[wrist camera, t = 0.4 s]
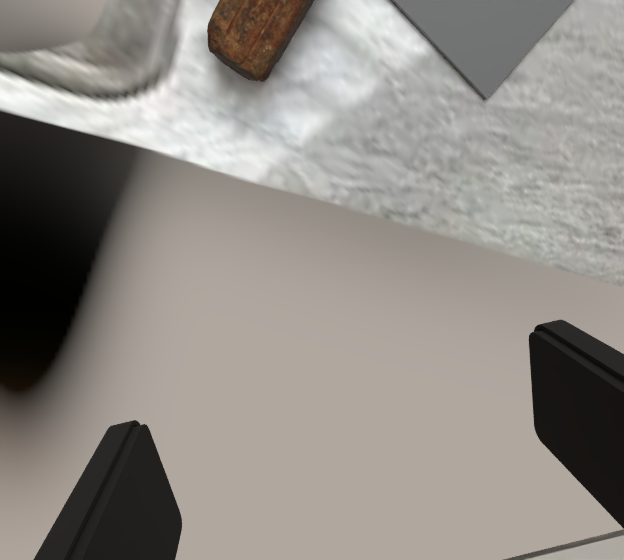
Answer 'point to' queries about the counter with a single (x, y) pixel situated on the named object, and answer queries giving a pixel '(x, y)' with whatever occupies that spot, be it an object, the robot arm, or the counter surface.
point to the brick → (254, 33)
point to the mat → (483, 33)
